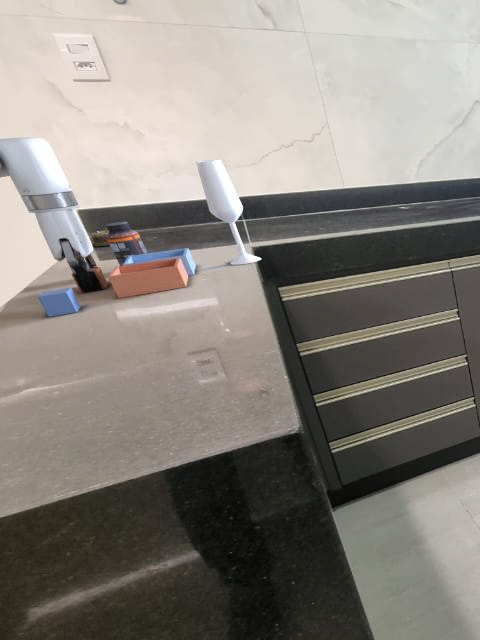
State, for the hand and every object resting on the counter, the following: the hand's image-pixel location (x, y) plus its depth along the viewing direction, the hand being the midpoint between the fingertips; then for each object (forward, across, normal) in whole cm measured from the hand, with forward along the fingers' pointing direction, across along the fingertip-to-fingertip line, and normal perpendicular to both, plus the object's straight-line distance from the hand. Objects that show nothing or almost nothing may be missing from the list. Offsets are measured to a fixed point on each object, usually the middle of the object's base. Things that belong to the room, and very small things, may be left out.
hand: (94, 286), depth 116 cm
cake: (0, -65, -4) cm, 65 cm away
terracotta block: (0, 0, 0) cm, 0 cm away
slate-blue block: (0, +18, -2) cm, 18 cm away
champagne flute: (0, -4, +28) cm, 28 cm away
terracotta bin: (0, +9, +11) cm, 14 cm away
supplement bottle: (0, -15, +6) cm, 16 cm away
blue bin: (0, -2, +12) cm, 12 cm away
